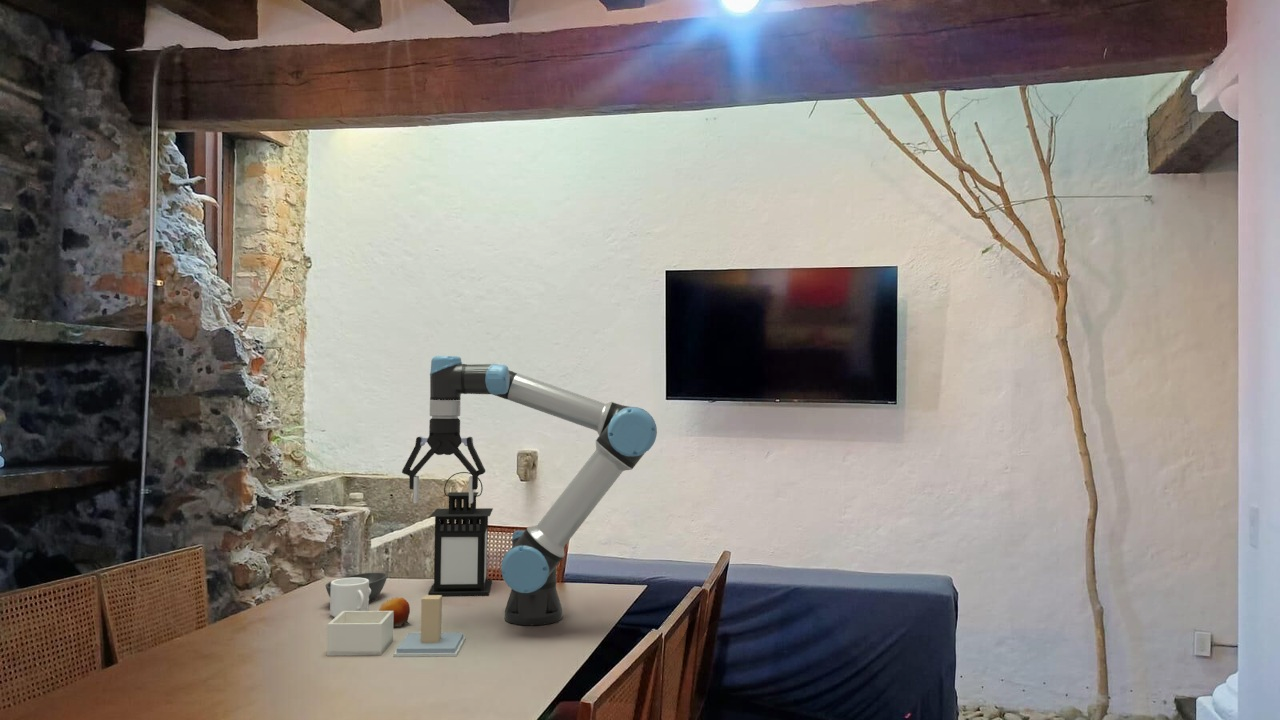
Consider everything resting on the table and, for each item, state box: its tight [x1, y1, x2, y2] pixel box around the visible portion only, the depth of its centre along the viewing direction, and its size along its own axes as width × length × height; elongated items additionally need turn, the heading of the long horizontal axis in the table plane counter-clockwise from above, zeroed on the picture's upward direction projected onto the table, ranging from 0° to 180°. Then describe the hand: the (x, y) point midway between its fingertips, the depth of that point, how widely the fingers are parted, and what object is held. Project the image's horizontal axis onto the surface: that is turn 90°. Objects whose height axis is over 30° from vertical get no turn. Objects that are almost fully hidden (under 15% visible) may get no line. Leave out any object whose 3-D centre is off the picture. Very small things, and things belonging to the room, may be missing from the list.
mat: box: [393, 635, 467, 658], centre depth 204 cm, size 14×14×1 cm
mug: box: [329, 577, 371, 618], centre depth 232 cm, size 12×10×9 cm
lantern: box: [427, 471, 494, 598], centre depth 265 cm, size 17×17×35 cm
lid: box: [395, 594, 464, 653], centre depth 205 cm, size 13×13×11 cm
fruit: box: [378, 596, 411, 628], centre depth 224 cm, size 8×8×8 cm
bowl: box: [325, 572, 388, 603], centre depth 248 cm, size 12×22×6 cm, turn 161°
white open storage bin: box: [326, 610, 394, 657], centre depth 204 cm, size 12×12×7 cm
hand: (443, 502), depth 219 cm, fingers open, 13 cm apart
